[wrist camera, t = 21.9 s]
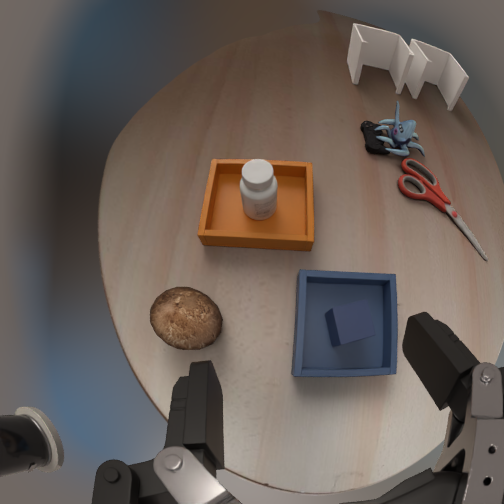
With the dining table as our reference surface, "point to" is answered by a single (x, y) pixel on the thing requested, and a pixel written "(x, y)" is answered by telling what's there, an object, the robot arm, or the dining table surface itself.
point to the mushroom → (186, 318)
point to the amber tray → (258, 231)
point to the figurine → (391, 136)
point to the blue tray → (317, 334)
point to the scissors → (433, 196)
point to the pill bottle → (258, 189)
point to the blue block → (349, 323)
